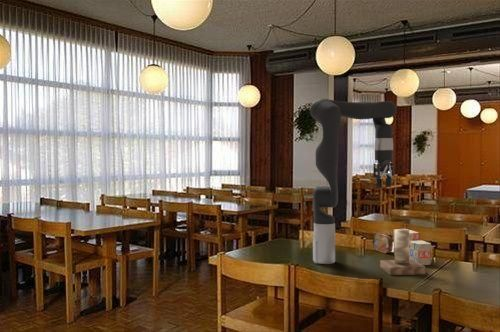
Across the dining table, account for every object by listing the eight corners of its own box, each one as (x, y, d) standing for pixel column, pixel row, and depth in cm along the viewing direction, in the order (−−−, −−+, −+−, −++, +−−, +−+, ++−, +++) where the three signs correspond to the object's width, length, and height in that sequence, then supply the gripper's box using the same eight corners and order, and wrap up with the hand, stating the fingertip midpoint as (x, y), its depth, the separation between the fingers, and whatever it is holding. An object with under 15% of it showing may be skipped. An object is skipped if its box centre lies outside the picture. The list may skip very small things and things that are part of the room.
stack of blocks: (431, 265, 200) (431, 236, 200) (417, 265, 199) (417, 236, 199) (405, 254, 221) (405, 228, 221) (393, 254, 220) (393, 228, 220)
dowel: (397, 271, 188) (397, 231, 187) (392, 267, 193) (392, 229, 193) (411, 271, 188) (411, 231, 187) (406, 267, 194) (406, 228, 193)
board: (390, 275, 184) (390, 267, 184) (380, 267, 196) (380, 260, 196) (425, 274, 185) (425, 266, 185) (413, 266, 197) (413, 259, 197)
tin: (372, 248, 234) (372, 231, 234) (378, 248, 235) (378, 231, 234) (387, 255, 219) (387, 237, 219) (394, 254, 220) (394, 236, 220)
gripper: (384, 149, 191) (384, 189, 192) (399, 148, 201) (399, 186, 202) (367, 149, 196) (367, 188, 197) (383, 148, 206) (383, 185, 207)
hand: (384, 187), depth 199 cm, fingers open, 8 cm apart
